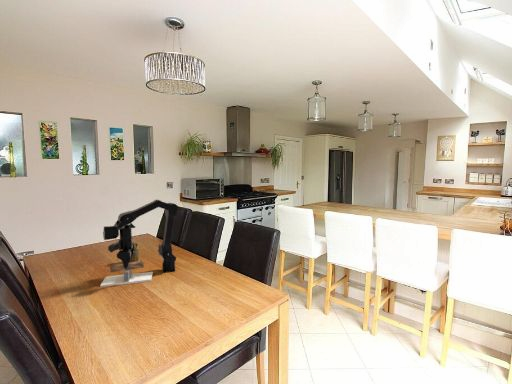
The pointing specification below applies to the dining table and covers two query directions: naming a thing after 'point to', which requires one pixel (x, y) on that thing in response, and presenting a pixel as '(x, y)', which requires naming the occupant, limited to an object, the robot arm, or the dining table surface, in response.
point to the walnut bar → (130, 266)
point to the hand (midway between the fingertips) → (127, 265)
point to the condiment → (135, 254)
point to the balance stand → (127, 278)
